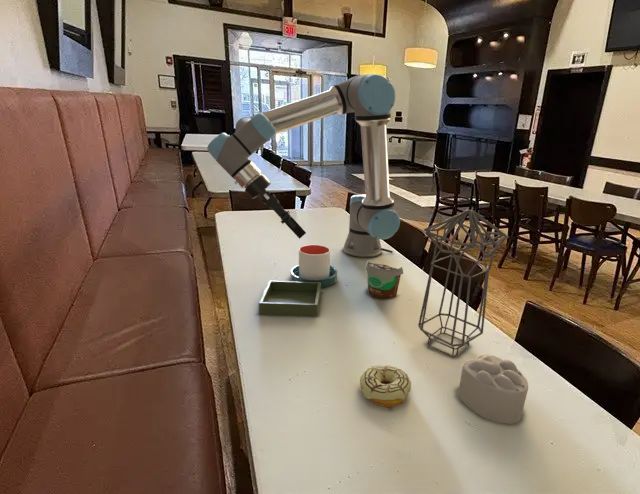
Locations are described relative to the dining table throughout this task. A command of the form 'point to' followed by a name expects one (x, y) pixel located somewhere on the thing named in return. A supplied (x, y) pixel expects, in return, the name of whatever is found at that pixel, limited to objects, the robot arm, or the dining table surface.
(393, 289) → the food container
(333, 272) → the dish
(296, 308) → the tray
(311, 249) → the cup
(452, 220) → the geometric lantern
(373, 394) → the decorated donut
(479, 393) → the lumpy-topped squat cylinder
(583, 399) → the dining table surface
